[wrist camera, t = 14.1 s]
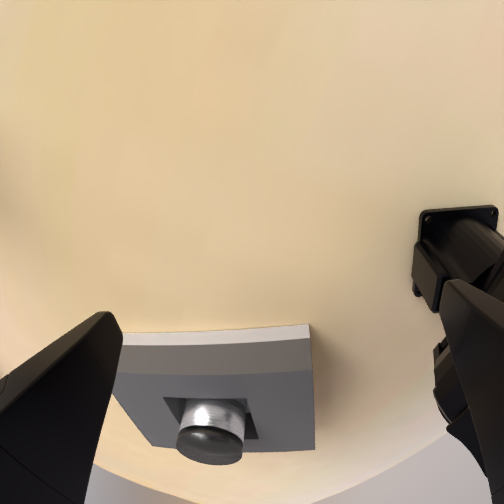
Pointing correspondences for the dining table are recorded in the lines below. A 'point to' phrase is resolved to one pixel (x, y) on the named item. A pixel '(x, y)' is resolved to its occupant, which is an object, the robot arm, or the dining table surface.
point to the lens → (213, 430)
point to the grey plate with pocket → (221, 382)
